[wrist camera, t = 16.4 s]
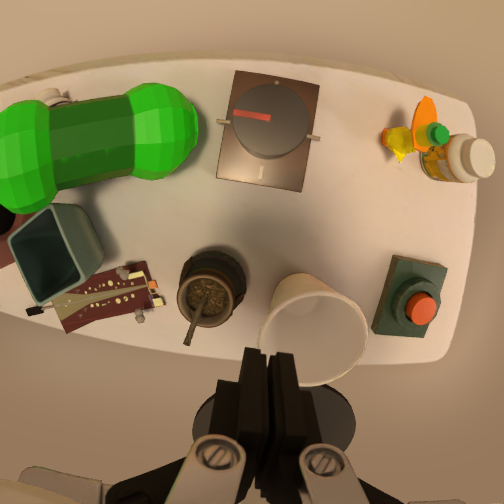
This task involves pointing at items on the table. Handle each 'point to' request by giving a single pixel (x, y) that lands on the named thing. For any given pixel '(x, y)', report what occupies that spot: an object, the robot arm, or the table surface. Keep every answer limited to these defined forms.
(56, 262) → the flower pot
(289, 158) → the brown dial base plate
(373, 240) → the table surface
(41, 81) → the table surface
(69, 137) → the plastic bottle
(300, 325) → the cup
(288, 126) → the dial knob
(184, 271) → the yerba mate gourd
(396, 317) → the button box
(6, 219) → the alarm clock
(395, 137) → the toy figure
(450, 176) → the supplement bottle
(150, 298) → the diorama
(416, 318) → the button
